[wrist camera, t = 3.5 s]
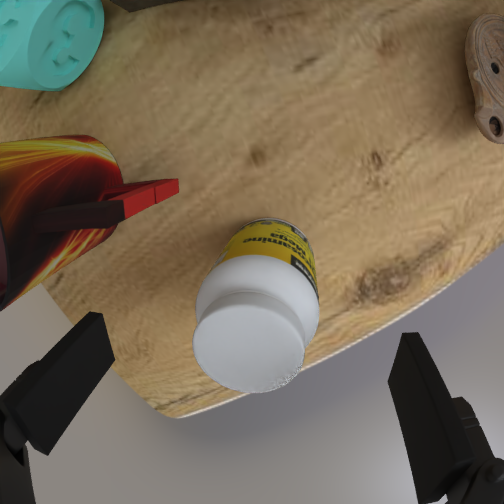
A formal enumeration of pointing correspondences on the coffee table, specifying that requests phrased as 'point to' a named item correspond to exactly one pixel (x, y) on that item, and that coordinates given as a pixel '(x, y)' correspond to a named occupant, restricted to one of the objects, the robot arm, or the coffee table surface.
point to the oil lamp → (487, 73)
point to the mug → (61, 206)
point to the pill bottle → (257, 308)
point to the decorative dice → (47, 41)
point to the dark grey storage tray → (140, 4)
